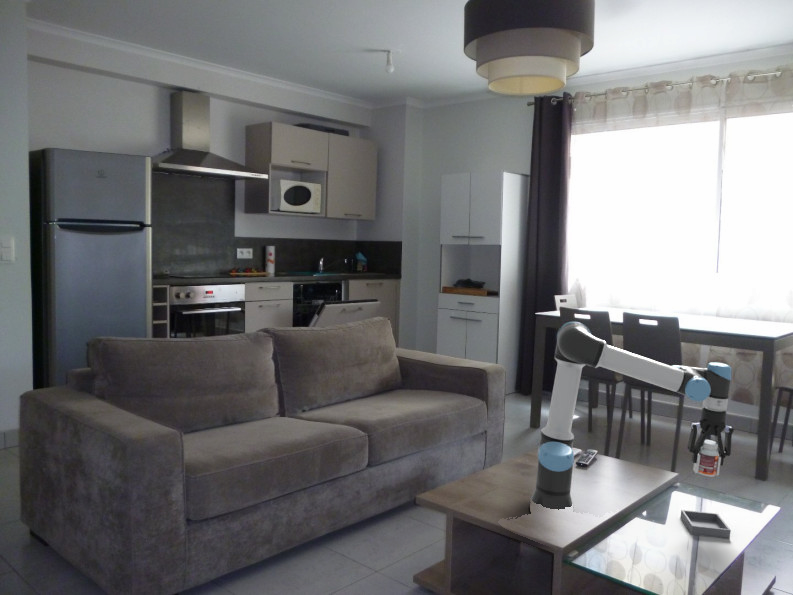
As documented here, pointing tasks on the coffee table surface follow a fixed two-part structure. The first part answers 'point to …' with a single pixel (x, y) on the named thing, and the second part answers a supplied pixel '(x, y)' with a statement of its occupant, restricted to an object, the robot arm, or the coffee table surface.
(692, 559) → the coffee table surface
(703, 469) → the pill bottle
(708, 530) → the tray
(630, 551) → the coffee table surface
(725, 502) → the coffee table surface
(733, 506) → the coffee table surface
